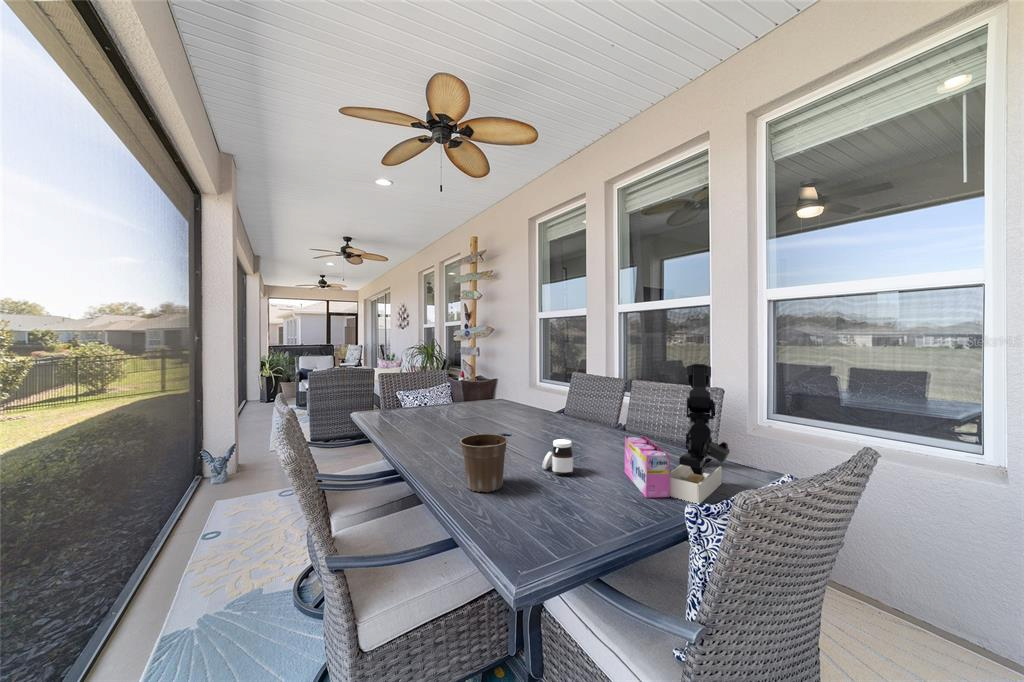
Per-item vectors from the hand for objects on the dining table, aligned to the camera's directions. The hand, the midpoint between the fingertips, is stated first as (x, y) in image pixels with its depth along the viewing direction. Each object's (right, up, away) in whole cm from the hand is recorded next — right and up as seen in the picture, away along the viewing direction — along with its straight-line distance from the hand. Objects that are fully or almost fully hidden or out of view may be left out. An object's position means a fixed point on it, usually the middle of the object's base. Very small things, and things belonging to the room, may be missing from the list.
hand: (699, 481), depth 132 cm
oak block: (-2, -2, -3) cm, 4 cm away
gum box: (-15, -4, +7) cm, 17 cm away
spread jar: (-44, -4, +21) cm, 49 cm away
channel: (-1, -4, +3) cm, 5 cm away
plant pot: (-70, -4, +7) cm, 71 cm away
